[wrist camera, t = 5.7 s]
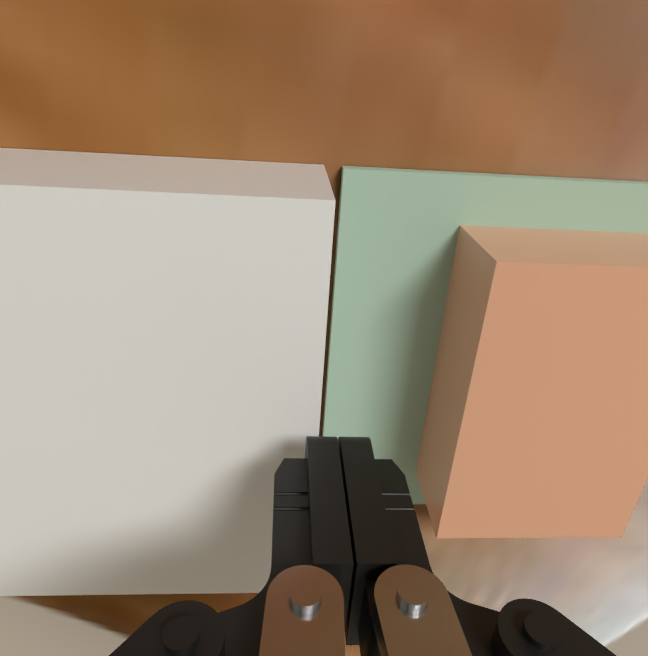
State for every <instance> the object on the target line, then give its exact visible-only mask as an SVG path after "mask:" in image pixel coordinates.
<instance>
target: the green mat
mask: <svg viewBox="0 0 648 656" xmlns="http://www.w3.org/2000/svg"><path fill="white" fill-rule="evenodd" d="M460 225H468V226H491V227H515V228H538V229H562V230H585V231H609V232H632V233H648V182H641V181H622V180H603V179H584V178H565V177H546V176H527V175H508V174H489V173H470V172H451V171H432V170H413V169H394V168H375V167H355V166H342V175H341V189H340V202H339V216H338V229H337V243H336V256H335V269H334V283H333V296H332V310H331V323H330V336H329V350H328V363H327V377H326V390H325V404H324V417H323V430H322V436H326V437H337V439H338V437H369V438H370V440H371V444H372V449H373V453H374V458H375V459H392V460H393V461H394V463H395V464H396V465H397V466H398V467H399V468H400V470H401V471H402V472H403V473H404V474H405V477H406V481H407V485H408V488H409V492H410V496H411V499H412V503H413V504H426V502H425V499H424V496H423V493H422V489H421V486H420V483H419V480H418V476H417V473H416V467H417V461H418V456H419V450H420V445H421V439H422V433H423V428H424V422H425V417H426V411H427V405H428V400H429V394H430V389H431V383H432V377H433V372H434V366H435V361H436V355H437V349H438V344H439V338H440V333H441V327H442V321H443V316H444V310H445V305H446V299H447V293H448V288H449V282H450V277H451V271H452V265H453V260H454V254H455V249H456V243H457V237H458V232H459V226H460Z"/></svg>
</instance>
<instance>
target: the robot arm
mask: <svg viewBox="0 0 648 656" xmlns="http://www.w3.org/2000/svg"><path fill="white" fill-rule="evenodd" d="M345 637H346V645H360V653H361V656H616V655H615V654H613V653H612V652H611V651H609V650H608V649H607V648H606V647H604V646H603V645H602V644H600V643H599V642H598V641H596V640H595V639H594V638H592V637H591V636H590V635H589V634H587V633H586V632H585V631H583V630H582V629H581V628H579V627H578V626H577V625H575V624H574V623H573V622H572V621H570V620H569V619H568V618H566V617H565V616H564V615H562V614H561V613H560V612H558V611H557V610H555V609H554V608H552V607H551V606H549V605H547V604H545V603H542V602H540V601H537V600H532V599H517V600H513V601H511V602H509V603H507V604H506V605H505V606H504V607H503V608H502V610H501V611H500V612H498V611H495V610H491V609H488V608H485V607H481V606H478V605H474V604H471V603H468V602H466V601H463V600H461V599H459V598H457V597H456V596H454V595H453V594H451V593H450V592H449V591H447V589H446V587H445V586H444V585H443V583H442V582H441V581H440V580H439V579H438V578H437V577H436V576H435V575H434V574H433V572H432V570H431V567H430V564H429V560H428V557H427V553H426V549H425V546H424V542H423V539H422V535H421V531H420V528H419V524H418V521H417V517H416V513H415V511H414V506H413V503H412V499H411V496H410V492H409V488H408V485H407V481H406V477H405V474H404V473H403V472H402V471H401V470H400V468H399V467H398V466H397V465H396V464H395V463H394V461H393V460H392V459H375V458H374V453H373V449H372V444H371V440H370V438H369V437H338V439H337V437H326V436H306V445H305V458H284V459H283V461H282V462H281V464H280V465H279V467H278V469H277V470H276V472H275V474H274V500H273V529H272V559H271V572H270V576H269V579H268V581H267V583H266V585H265V586H264V588H263V589H262V590H261V591H260V592H259V593H258V595H256V596H255V597H254V598H253V599H251V600H250V601H248V602H246V603H245V604H242V605H240V606H237V607H234V608H231V609H228V610H225V611H222V612H219V613H217V612H216V611H215V610H214V609H212V608H211V607H210V606H208V605H206V604H204V603H201V602H197V601H180V602H176V603H173V604H170V605H168V606H166V607H164V608H162V609H161V610H159V611H158V612H156V613H155V614H154V615H153V616H152V617H151V618H149V619H148V620H147V621H146V622H145V623H144V624H143V625H142V626H141V627H140V628H139V629H138V630H136V631H135V632H134V633H133V634H132V635H131V636H130V637H129V638H128V639H127V640H126V641H125V642H123V643H122V644H121V645H120V646H119V647H118V648H117V649H116V650H115V651H114V652H112V653H111V654H110V655H109V656H345Z"/></svg>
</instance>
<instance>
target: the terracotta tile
mask: <svg viewBox="0 0 648 656" xmlns="http://www.w3.org/2000/svg"><path fill="white" fill-rule="evenodd" d="M416 473H417V476H418V480H419V483H420V486H421V489H422V493H423V496H424V499H425V502H426V506H427V509H428V512H429V515H430V519H431V522H432V525H433V528H434V532H435V535H436V538H560V537H622V536H623V533H624V531H625V529H626V526H627V524H628V522H629V520H630V517H631V515H632V513H633V510H634V508H635V506H636V504H637V501H638V499H639V497H640V494H641V492H642V490H643V488H644V485H645V483H646V481H647V478H648V233H632V232H609V231H585V230H562V229H538V228H515V227H491V226H468V225H460V226H459V232H458V237H457V243H456V249H455V254H454V260H453V265H452V271H451V277H450V282H449V288H448V293H447V299H446V305H445V310H444V316H443V321H442V327H441V333H440V338H439V344H438V349H437V355H436V361H435V366H434V372H433V377H432V383H431V389H430V394H429V400H428V405H427V411H426V417H425V422H424V428H423V433H422V439H421V445H420V450H419V456H418V461H417V467H416Z"/></svg>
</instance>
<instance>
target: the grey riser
mask: <svg viewBox="0 0 648 656" xmlns="http://www.w3.org/2000/svg"><path fill="white" fill-rule="evenodd" d="M335 201H336V200H335V197H334V194H333V191H332V188H331V185H330V182H329V179H328V176H327V173H326V170H325V167H324V165H317V164H298V163H279V162H260V161H241V160H222V159H203V158H184V157H165V156H146V155H127V154H108V153H89V152H69V151H50V150H31V149H12V148H0V596H51V595H130V594H208V593H259V592H260V591H261V590H262V589H263V588H264V586H265V585H266V583H267V581H268V579H269V576H270V572H271V559H272V529H273V500H274V474H275V472H276V470H277V469H278V467H279V465H280V464H281V462H282V461H283V459H284V458H305V445H306V436H319V426H320V412H321V398H322V384H323V370H324V356H325V342H326V328H327V314H328V300H329V286H330V271H331V257H332V243H333V229H334V215H335Z"/></svg>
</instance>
